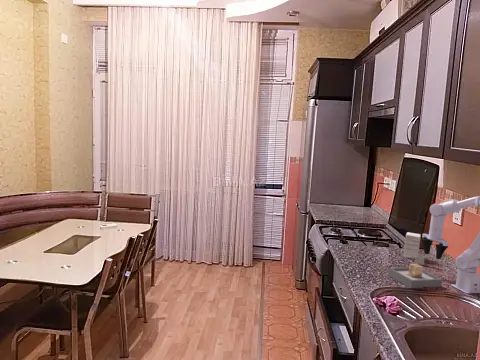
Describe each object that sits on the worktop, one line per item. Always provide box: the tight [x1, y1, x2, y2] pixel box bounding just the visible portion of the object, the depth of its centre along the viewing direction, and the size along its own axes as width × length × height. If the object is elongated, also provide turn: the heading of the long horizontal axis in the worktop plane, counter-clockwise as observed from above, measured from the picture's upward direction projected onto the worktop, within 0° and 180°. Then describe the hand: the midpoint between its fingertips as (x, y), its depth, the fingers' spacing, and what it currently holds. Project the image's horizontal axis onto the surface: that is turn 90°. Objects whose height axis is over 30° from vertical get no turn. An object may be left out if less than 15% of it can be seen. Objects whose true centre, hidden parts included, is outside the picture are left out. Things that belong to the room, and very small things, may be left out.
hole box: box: [387, 266, 443, 289], centre depth 192 cm, size 16×16×4 cm
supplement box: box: [402, 231, 422, 260], centre depth 231 cm, size 7×7×13 cm
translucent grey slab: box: [414, 250, 432, 266], centre depth 218 cm, size 7×2×8 cm, turn 68°
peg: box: [408, 263, 424, 278], centre depth 192 cm, size 4×4×7 cm
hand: (432, 256), depth 201 cm, fingers open, 7 cm apart
